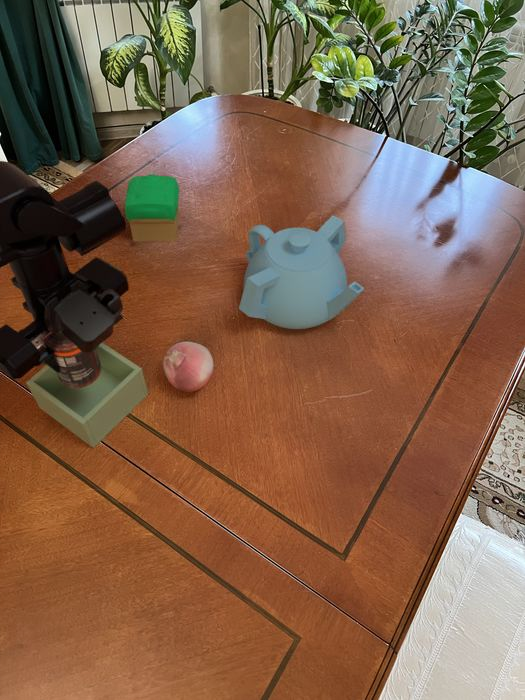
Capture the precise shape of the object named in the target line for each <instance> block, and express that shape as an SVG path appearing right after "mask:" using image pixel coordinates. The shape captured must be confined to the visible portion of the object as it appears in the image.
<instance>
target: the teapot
mask: <svg viewBox="0 0 525 700" xmlns="http://www.w3.org/2000/svg"><path fill="white" fill-rule="evenodd" d="M346 232H347V231H346V224H345V220H343V219H341V218H339V217H338V216H336V215H334V214H332V215H331V216H330V217H329V218H328V219H327V220H326V221H325V222H324V223H323V225H322V226H321V227H320V228H319V229H318V230H317V231H315V230H312V229H311V228H306V227H288V228H284V229H281V230H279V231H276V232H273V230H272V229H271V228H270V227H268V226H267V225H264V224H257V225H254V226H253V227H252V228H250V230H249V231H248V244H249V249H248V250H247V251H246V254H245V257H246V260H247V262H248V265H247V267H246V270H245V273H244V277H243V287H242V288H243V292H242V295H241V299H240V302H239V305H238V309H239V310H240V311H241V312H242V313H244V314H245V315H246V316H247V317H249V318H256V319H261V320H264V321H265V322H267V323H269V324H271V325H273V326H275V327H276V326H277V327H279V328H283V329H287V330H307V329H311V328H314V327H318V326H321V325H323V324H325V323H326V322H328V321H331V320H333V319H334V318H335V317H337V316H338V315H339V314H340V313H341V312H343V311H345V310H346V309H347V308H348V307H349V306H350V305H351V304H352V303H353V302H354V301H355V300H356V299H357V298H358V297H359V296H361V294H362V293H363V292H364V291H365V290H366V289H365V288H364V287H363V286H362V285H361V284H359V283H358V282H356V281H353V282H352V283H350V284H349V285H348V276H347V272H346V271H347V270H346V268H345V265H344V263H343V260H342V259H341V257H340V253H341V251H342V249H343V247H344V246H345V244H346V242H347V234H346ZM260 237H261V238H262V239H263V240H264V242H263V243H261V239H260Z"/></svg>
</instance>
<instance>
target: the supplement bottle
mask: <svg viewBox="0 0 525 700" xmlns="http://www.w3.org/2000/svg"><path fill="white" fill-rule="evenodd" d="M44 344H45V345H46V346H48V347H49V348H50V349H52V350H53V351H55V353H54V354H53V356H54V358H55V360H56V361H57V363H58V365H59V368H60V372H59V373H57V372H56V373H57V375H58V377H59V379H60V381H61V382H62V383H63V384H64V385H66V386H68V387H71V388H81V387H85V386H88V385H90V384H92V383H93V382H94V381H95V380H96V379H97V378H98V377H99V375H100V373H101V363H100V359H99V356H98V353H97V350H96V349H95V350H93V351H92V352H90V353H85V352H82V351H81V350H80V349H79V348H78V347H77V346H76V345H75V344H74V343H73V342H72V341H70V340H69V339H68V338H67V337H66V336H65V335H64V334H63V333H62V332H61V331H59V332H58V333H57V334H56V335H55V334H54V333H51V334H50V335H49V336H47V337H46V338H45V339H44Z"/></svg>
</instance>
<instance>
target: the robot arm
mask: <svg viewBox="0 0 525 700" xmlns="http://www.w3.org/2000/svg"><path fill="white" fill-rule="evenodd" d="M126 221H127V220H126V218H125V217H124V215H123V214H122V212H121V210H120V208H119V206H118V205H117V203H116V202H115V200H114V199H113V198H112V196H111V195H110V191H109V187H107V186H106V185H104V184H103V183H102V182H100V181H98V180H94V181H92V182H90V183H89V184H87V185H86V186H84V187H83V188H81V189H80V190H78V191H76V192H74V193H72V194H70V195H68V196H66V197H64V198H62V199H60V200H58V199H56V198H54V196H52V195H51V194H50V192H49V191H48V190H47V189H46V188H45V187H44V186H42V185H41V184H40V183H38V182H37V181H36V180H35V179H33V178H32V177H31V176H30V175H28V174H27V173H26V172H25V171H23V169H21V168H19V167H18V166H17V165H15V164H13V163H11V162H9V161H4V160H0V269H1V268H3V267H5V266H7V265H8V264H9V266H10V269H11V272H12V274H13V277H11V279H10V280H11V282H12V285H13V286H14V287H15V288H17V289H19V290H20V291H21V293H22V296H23V299H24V300H25V301H24V302H22V303H21V305H22V307H23V309H24V310H25V311H27V312H28V313H29V314H31V316H32V319H33V321H31V322H30V323H29V324H28V325H27V326H25V327H24V328H21V329H19V330H18V331H17V330H15V329H14V328H13V327H12V326H9V324H6V323H5V324H3V325H2V326H1V327H0V371H1V372H3V373H4V374H6V375H7V376H8V377H10V378H11V379H12V380H17V379H18V380H19V379H21V378H23V377H24V376H25V375H26V374H28V373H29V372H30V371H32V370H33V369H34V368H35V367H40V366H41V365H42V364H45V366H46V365H48V366H49V367H50V368H51V369H53V370H54V371H56V372H57V373H59V372H60V368H59V365H58V363H57V361H56V360H55V358H54V356H53V354H54V353H55V351H53V350H52V349H50V348H49V347H48V346H46V345H45V344H44V339H45V338H46V337H47V336H49V335H50V334H51V333H54V334H55V335H56V334H57V333H58V332H59V331H61V332H62V333H63V334H64V335H65V336H66V337H67V338H68V339H69V340H70V341H72V342H73V343H74V344H75V345H76V346H77V347H78V348H79V349H80V350H81V351H82V352H85V353H90V352H92V351H93V350H95V349H96V348H97V347H98V346H99V345H100V344H101V343H104V341H106V340H108V339H109V338H110V337H111V336H112V335H113V333H114V330H115V329H114V328H115V326H116V325H117V324H118V323H119V322H120V321H122V320H123V319H124V316H123V315H122V312H123V309H124V304H123V302H122V299H121V297H122V296H123V295H124V294H126V293H127V292H128V291H129V289H130V285H129V280H128V277H127V275H126V273H124V271H123V270H121V269H120V268H117V267H116V266H115V265H112V264H111V263H109V262H107V261H106V260H104V259H103V258H100V257H94V258H93V259H91V260H90V261H89V262H87V263H86V264H84V265H83V266H81V267H80V268H79V269H77V270H76V271H75V272H73V273H72V272H71V270H70V269H69V266H68V263H67V260H66V257H65V254H64V251H63V248H64V249H65V250H67V251H68V252H70V253H73V252H74V251H75V252H77V253H78V254H79V255H80V256H81V257H83V256H85V255H88V254H89V253H90V252H93V251H94V250H96V249H98V248H99V247H101V246H103V245H105V244H106V243H108V242H109V241H112V240H113V239H115V238H117V237H119V236H120V235H122V234H124V233H125V232H126V231H127V222H126ZM62 247H63V248H62Z"/></svg>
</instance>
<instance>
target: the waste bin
mask: <svg viewBox="0 0 525 700" xmlns="http://www.w3.org/2000/svg"><path fill="white" fill-rule="evenodd" d="M96 350H97V353H98V356H99V359H100V363H101V373H100V375H99V377H98V378H97V379H96V380H95V381H94V382H93V383H92V384H90V385H88V386H85V387H81V388H71V387H68V386H66V385H64V384H63V383H62V382H61V381H60V379H59V377H58V375H57V373H56V371H54V370H53V369H51V368H50V367H49V366H48V365H46V364H45V366H43V367H42V368H41V369H40V370H39V371H38V372H36V373H35V374H34V375H33V376H32V377H31V378H30V379H28V380H27V381H26V382H25V383H26V386H27V387H28V389H29V391H30V392H31V394H32V396H33V399H34V400H35V402H36V404H37V406H38V407H39V409H41V410H42V411H43V412H44V413H46V414H47V415H48V416H50V417H51V418H52V419H54V420H55V421H56V422H58V423H59V424H60V425H61V426H63V427H64V428H66V429H67V430H68V431H70V433H73V435H75V436H76V437H78V438H80V440H81V441H83V442H85V443H86V444H87V445H88V446H89V447H91V448H93V449H94V448H96V447H97V446H98V445H99V444H100V442H102V441H103V440H104V439H105V438H106V437H107V436H108V435H109V434H110V433H111V432H112V431H113V430H114V429H115V428H116V427H117V426H118V425H119V424H120V423H121V422H122V421H123V420H124V419H125V418H126V417H127V416H128V415H130V413H132V411H133V410H134V409H135V408H137V406H139V405H140V403H142V401H144V400H145V399H146V397H147V396H149V392H148V387H147V383H146V379H145V375H144V371H143V368H142V367H140V366H139V365H137V364H136V363H135V362H132V361H131V360H129V359H128V358H127V357H125V356H124V355H122V354H120V353H118V352H117V351H116V350H114V349H113V348H111V347H110V346H109V345H106V344H105V343H104V342H102V343H101V344H100V345H99V346H98V347H97V348H96Z"/></svg>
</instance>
